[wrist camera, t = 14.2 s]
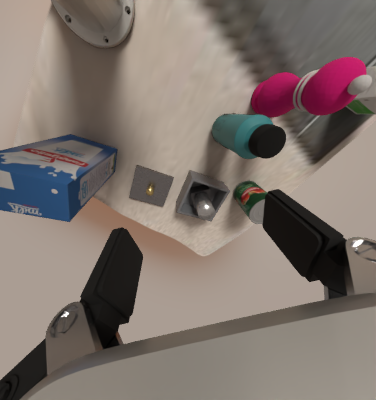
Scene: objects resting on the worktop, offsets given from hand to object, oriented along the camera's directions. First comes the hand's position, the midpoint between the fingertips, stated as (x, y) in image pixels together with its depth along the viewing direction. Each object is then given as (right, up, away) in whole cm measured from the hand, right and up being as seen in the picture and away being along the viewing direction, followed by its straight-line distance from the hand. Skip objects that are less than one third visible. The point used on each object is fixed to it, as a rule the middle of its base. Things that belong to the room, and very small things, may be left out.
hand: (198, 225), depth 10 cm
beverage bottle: (+8, +19, +25) cm, 33 cm away
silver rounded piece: (+3, +4, +33) cm, 34 cm away
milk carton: (-24, +13, +25) cm, 37 cm away
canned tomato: (+17, +5, +36) cm, 40 cm away
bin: (+3, +4, +34) cm, 34 cm away
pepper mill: (+17, +25, +23) cm, 38 cm away
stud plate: (-11, +6, +31) cm, 34 cm away
